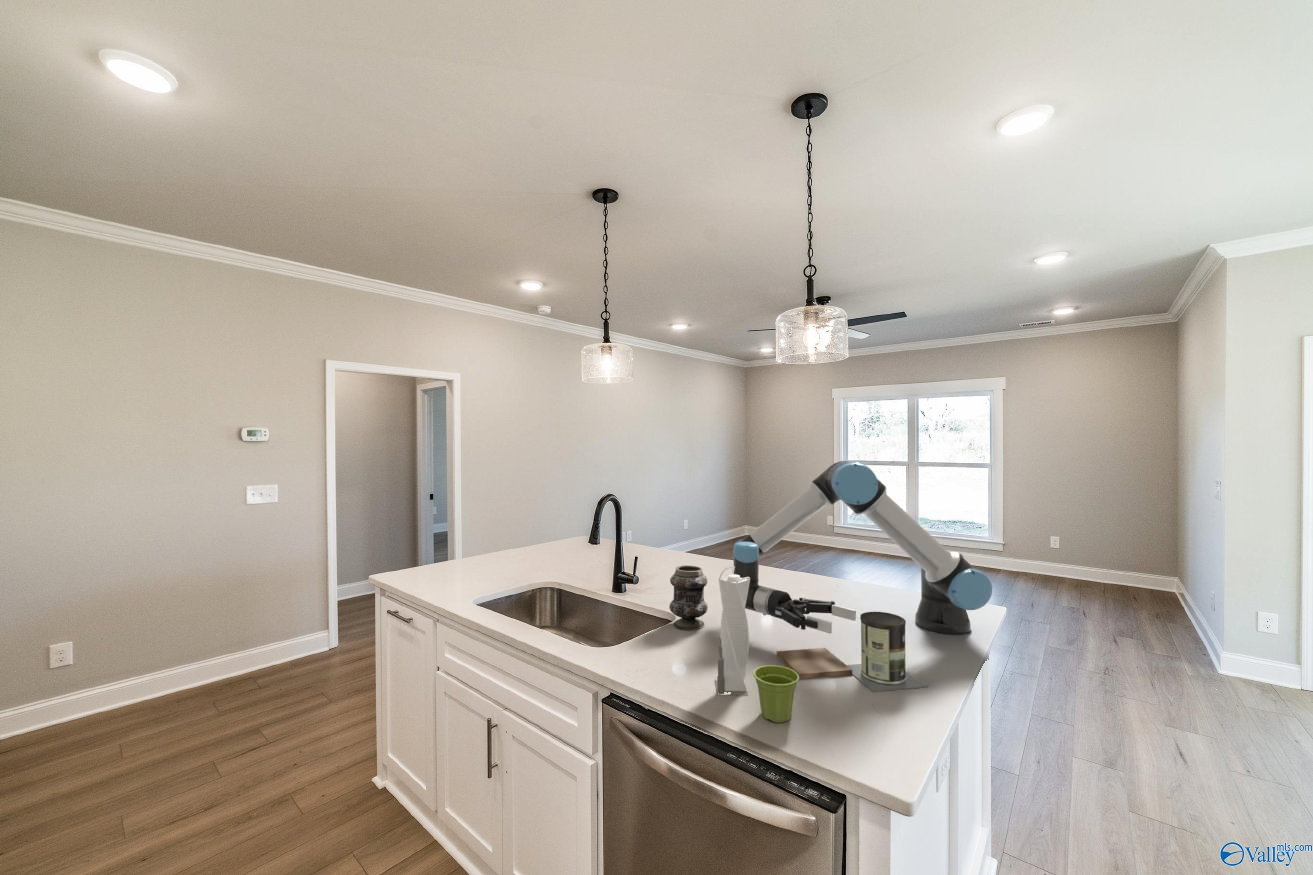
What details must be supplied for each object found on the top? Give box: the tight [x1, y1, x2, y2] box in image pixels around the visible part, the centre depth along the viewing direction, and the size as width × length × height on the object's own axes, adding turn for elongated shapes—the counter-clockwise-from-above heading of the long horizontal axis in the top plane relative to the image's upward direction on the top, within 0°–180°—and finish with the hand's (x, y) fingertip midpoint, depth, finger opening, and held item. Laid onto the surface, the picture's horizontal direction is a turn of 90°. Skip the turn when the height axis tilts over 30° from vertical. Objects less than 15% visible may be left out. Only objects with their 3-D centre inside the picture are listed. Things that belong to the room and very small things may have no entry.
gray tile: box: [846, 663, 929, 693], centre depth 128 cm, size 14×14×1 cm
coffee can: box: [859, 611, 907, 685], centre depth 128 cm, size 10×10×14 cm
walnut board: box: [776, 647, 853, 680], centre depth 135 cm, size 14×14×1 cm
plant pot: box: [752, 664, 800, 723], centre depth 110 cm, size 9×9×9 cm
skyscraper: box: [714, 565, 750, 696], centre depth 123 cm, size 8×8×28 cm
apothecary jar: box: [668, 564, 709, 631], centre depth 164 cm, size 12×12×18 cm
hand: (843, 621), depth 135 cm, fingers open, 13 cm apart
